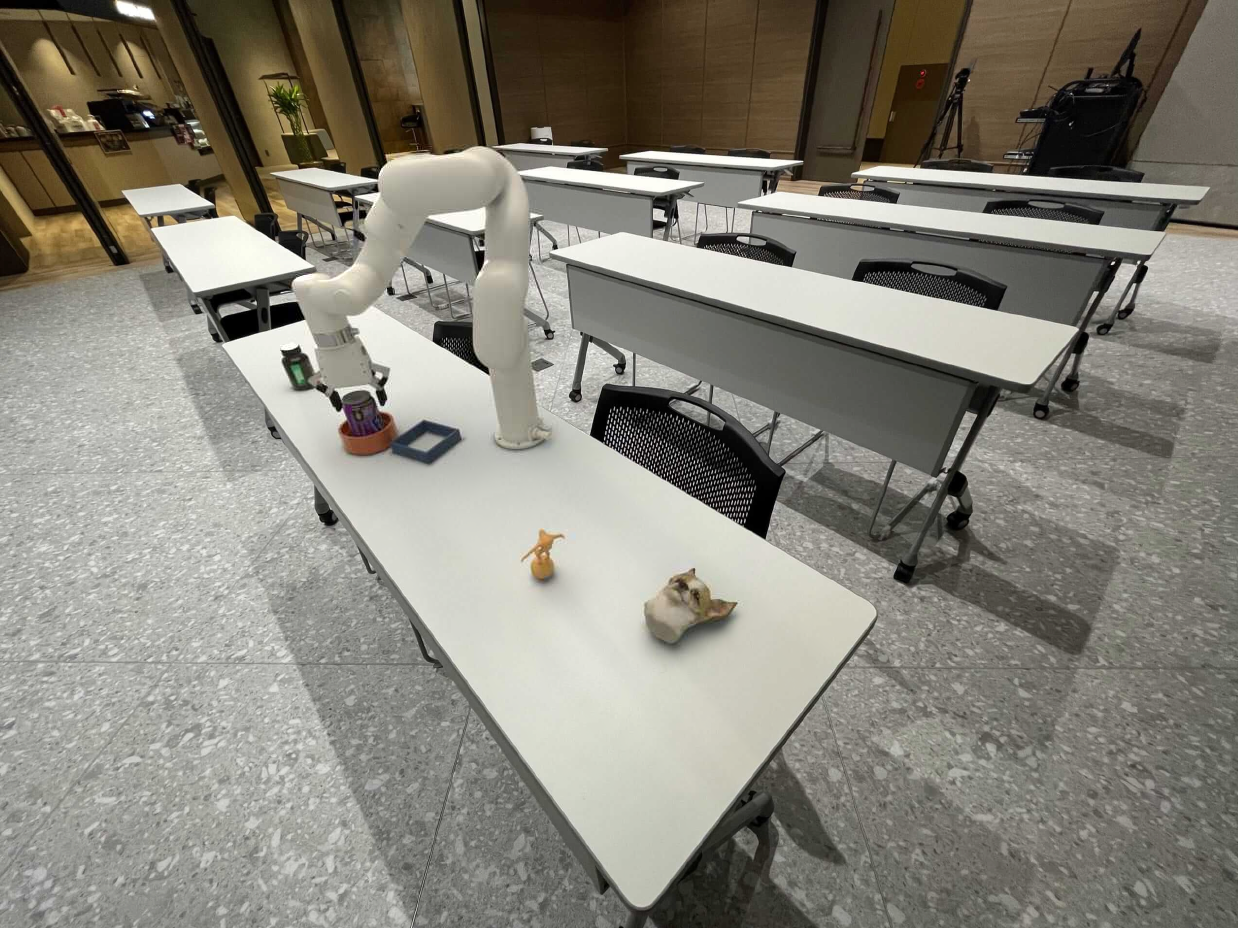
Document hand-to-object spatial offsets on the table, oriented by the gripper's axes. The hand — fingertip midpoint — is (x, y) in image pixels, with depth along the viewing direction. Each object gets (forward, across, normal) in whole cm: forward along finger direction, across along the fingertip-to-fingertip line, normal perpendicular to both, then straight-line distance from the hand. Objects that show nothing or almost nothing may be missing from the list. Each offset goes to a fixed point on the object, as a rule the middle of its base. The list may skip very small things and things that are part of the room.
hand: (362, 406), depth 117 cm
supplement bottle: (+9, +27, -36) cm, 46 cm away
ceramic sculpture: (+12, -59, +64) cm, 88 cm away
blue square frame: (+10, -13, +5) cm, 17 cm away
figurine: (+11, -38, +52) cm, 65 cm away
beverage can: (+10, +1, 0) cm, 10 cm away
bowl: (+10, +1, 0) cm, 10 cm away
